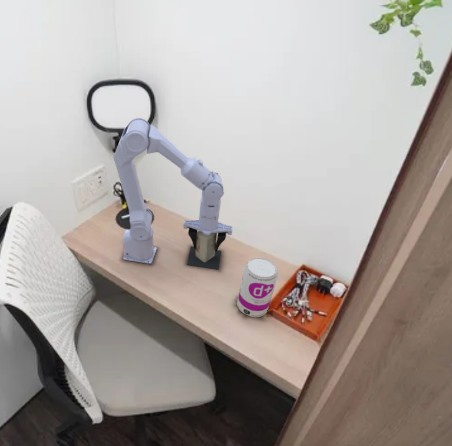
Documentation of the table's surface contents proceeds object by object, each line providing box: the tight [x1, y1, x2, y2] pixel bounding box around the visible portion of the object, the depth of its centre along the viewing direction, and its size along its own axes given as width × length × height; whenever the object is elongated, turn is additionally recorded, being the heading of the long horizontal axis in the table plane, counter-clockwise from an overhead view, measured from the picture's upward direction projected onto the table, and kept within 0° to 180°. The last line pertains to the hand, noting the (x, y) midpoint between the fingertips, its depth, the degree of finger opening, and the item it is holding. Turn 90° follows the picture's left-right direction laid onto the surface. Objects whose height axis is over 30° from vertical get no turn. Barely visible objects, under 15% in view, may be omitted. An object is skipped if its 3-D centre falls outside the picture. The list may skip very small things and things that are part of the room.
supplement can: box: [236, 257, 279, 318], centre depth 88 cm, size 8×8×15 cm
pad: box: [186, 246, 222, 271], centre depth 109 cm, size 10×9×1 cm
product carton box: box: [196, 230, 218, 263], centre depth 106 cm, size 5×4×10 cm
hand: (205, 248), depth 107 cm, fingers closed on product carton box, 6 cm apart
